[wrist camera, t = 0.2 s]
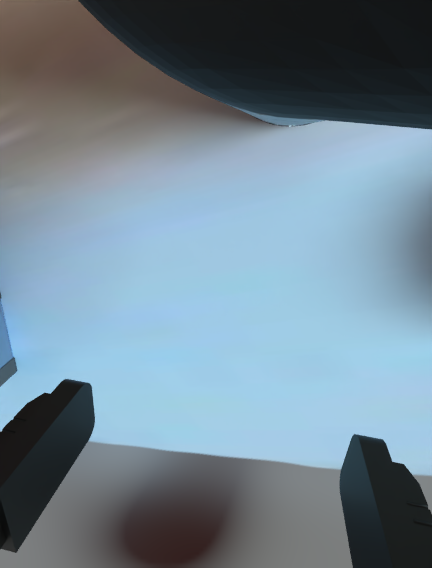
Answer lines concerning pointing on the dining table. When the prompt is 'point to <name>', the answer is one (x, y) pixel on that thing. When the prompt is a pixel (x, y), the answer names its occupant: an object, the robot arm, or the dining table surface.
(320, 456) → the dining table surface
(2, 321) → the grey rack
